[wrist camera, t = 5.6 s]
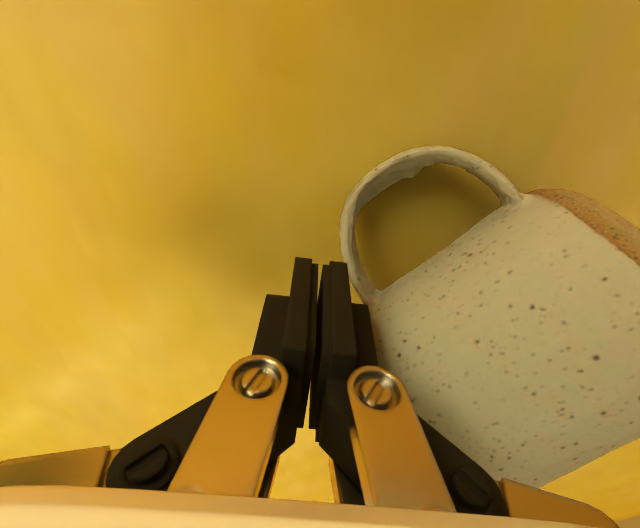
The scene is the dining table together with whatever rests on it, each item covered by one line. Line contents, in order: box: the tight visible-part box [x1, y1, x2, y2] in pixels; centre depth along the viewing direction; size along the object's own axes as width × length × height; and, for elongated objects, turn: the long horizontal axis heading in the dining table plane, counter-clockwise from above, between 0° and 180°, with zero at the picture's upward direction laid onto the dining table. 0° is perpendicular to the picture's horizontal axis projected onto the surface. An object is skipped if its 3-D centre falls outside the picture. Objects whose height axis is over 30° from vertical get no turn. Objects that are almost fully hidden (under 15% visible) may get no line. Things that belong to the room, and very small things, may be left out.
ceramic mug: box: [339, 146, 640, 488], centre depth 11 cm, size 11×8×8 cm
